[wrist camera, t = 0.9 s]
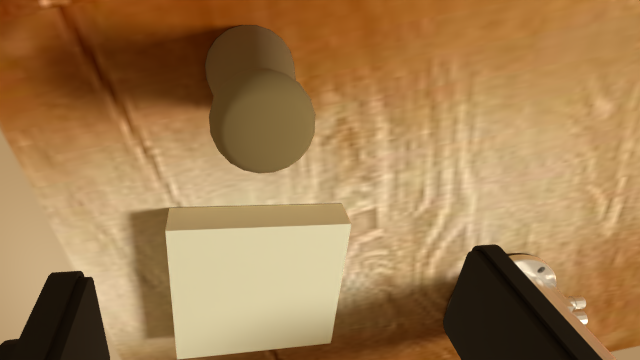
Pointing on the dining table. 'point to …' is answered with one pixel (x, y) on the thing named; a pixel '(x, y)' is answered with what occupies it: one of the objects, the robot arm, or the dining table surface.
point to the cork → (257, 101)
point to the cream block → (254, 276)
